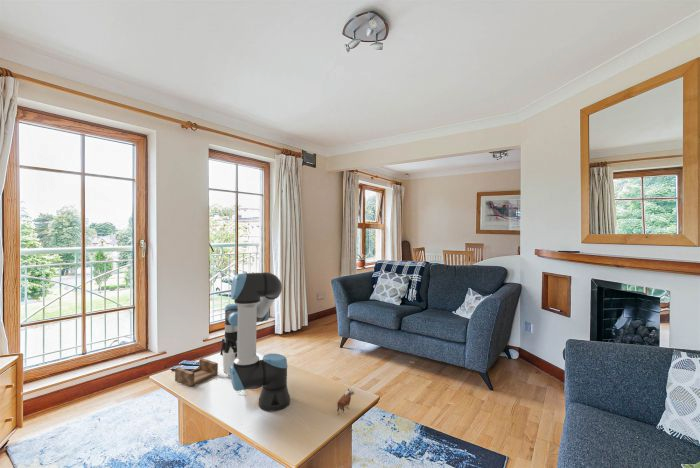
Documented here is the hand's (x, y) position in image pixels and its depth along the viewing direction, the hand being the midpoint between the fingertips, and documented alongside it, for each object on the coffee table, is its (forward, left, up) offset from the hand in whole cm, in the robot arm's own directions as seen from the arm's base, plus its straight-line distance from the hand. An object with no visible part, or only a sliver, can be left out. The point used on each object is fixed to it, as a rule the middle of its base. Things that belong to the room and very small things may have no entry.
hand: (231, 369), depth 187 cm
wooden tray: (+13, +13, -3) cm, 19 cm away
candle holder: (0, 0, -1) cm, 1 cm away
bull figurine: (-76, -3, -4) cm, 76 cm away
